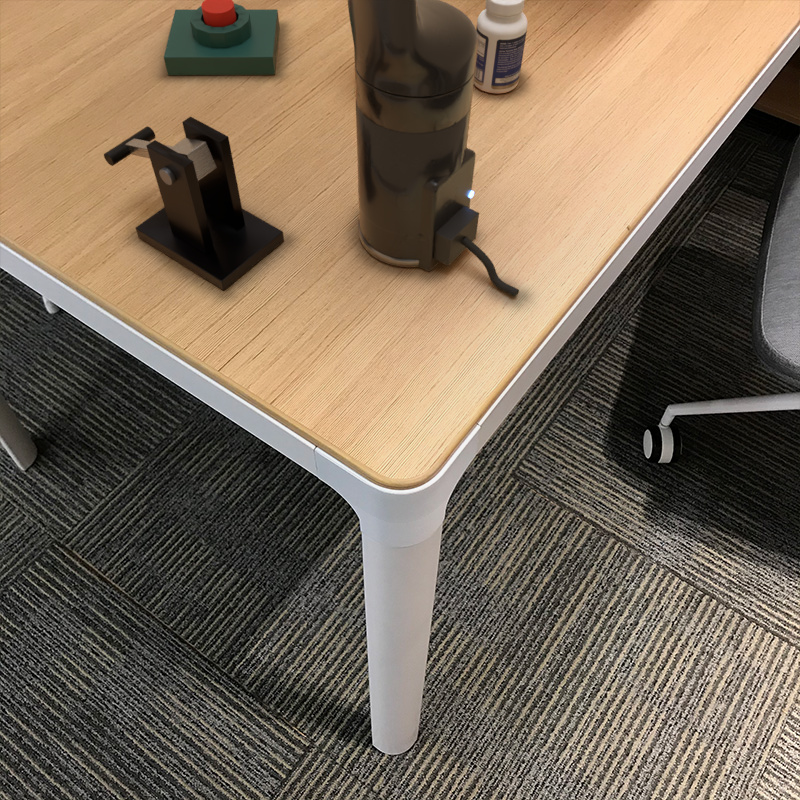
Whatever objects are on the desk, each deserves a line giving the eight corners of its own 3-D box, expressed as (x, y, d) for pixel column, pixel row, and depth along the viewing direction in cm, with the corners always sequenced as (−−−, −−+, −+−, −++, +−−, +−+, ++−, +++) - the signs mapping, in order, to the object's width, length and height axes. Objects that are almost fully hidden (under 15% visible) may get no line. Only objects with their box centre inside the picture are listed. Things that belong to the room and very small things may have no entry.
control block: (279, 27, 92) (275, -7, 89) (275, 75, 87) (270, 41, 83) (179, 27, 92) (171, -7, 89) (168, 75, 86) (159, 41, 83)
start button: (237, 11, 87) (235, -4, 86) (235, 28, 85) (232, 13, 84) (205, 11, 87) (203, -4, 86) (202, 28, 85) (199, 13, 84)
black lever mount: (138, 237, 71) (103, 138, 63) (200, 192, 75) (176, 93, 66) (223, 291, 68) (200, 194, 59) (284, 241, 72) (270, 143, 63)
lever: (111, 171, 69) (98, 146, 67) (152, 143, 71) (141, 119, 70) (186, 190, 63) (174, 163, 61) (229, 159, 65) (218, 133, 64)
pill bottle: (524, 74, 88) (539, -12, 80) (509, 100, 85) (523, 13, 77) (480, 63, 89) (490, -23, 81) (464, 87, 86) (472, 1, 78)
